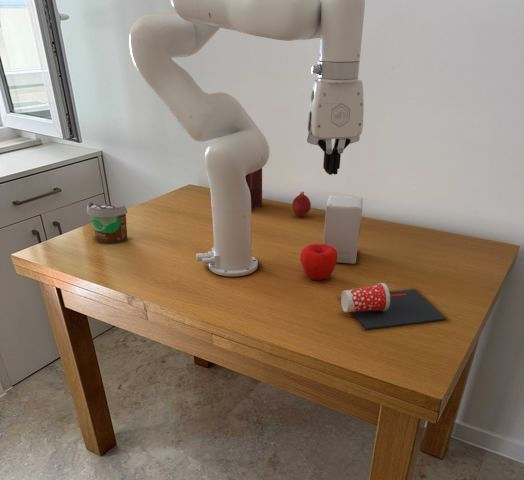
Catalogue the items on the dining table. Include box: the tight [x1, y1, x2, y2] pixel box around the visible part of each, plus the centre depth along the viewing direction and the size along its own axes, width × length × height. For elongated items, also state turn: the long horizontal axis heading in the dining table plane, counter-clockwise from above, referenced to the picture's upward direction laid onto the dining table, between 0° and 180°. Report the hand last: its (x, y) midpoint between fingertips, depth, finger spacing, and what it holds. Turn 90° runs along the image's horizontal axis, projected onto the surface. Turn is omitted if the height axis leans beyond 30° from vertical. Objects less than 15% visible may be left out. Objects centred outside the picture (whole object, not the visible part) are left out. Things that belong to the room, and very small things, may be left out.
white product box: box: [322, 195, 364, 265], centre depth 133 cm, size 9×9×15 cm
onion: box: [292, 190, 312, 218], centre depth 162 cm, size 6×6×8 cm
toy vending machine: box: [245, 167, 263, 211], centre depth 165 cm, size 9×11×28 cm
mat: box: [352, 289, 446, 331], centre depth 113 cm, size 18×14×1 cm
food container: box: [86, 200, 128, 244], centre depth 144 cm, size 12×6×10 cm, turn 68°
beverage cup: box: [340, 282, 406, 313], centre depth 110 cm, size 6×6×14 cm
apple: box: [299, 243, 337, 281], centre depth 124 cm, size 9×9×8 cm
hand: (331, 172), depth 106 cm, fingers closed
